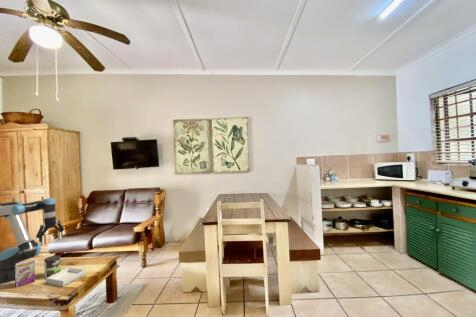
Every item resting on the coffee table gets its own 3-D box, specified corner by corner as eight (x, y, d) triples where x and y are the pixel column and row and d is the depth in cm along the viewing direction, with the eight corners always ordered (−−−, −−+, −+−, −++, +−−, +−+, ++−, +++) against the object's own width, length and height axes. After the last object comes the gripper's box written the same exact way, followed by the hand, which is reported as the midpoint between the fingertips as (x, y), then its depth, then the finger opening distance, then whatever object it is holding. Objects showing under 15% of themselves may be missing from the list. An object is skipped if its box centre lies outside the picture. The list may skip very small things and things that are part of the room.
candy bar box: (15, 287, 168) (14, 265, 168) (15, 285, 172) (14, 263, 172) (35, 282, 176) (34, 261, 176) (35, 279, 180) (34, 259, 180)
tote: (46, 283, 173) (45, 278, 173) (69, 271, 191) (69, 267, 191) (63, 286, 168) (63, 281, 168) (85, 274, 186) (85, 269, 186)
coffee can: (63, 272, 191) (63, 255, 190) (51, 278, 180) (51, 261, 180) (53, 271, 193) (53, 254, 193) (41, 277, 182) (40, 260, 182)
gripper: (36, 221, 174) (37, 248, 174) (68, 213, 198) (69, 237, 198) (29, 220, 176) (30, 248, 176) (62, 213, 200) (63, 237, 200)
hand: (51, 242), depth 187 cm, fingers open, 13 cm apart
